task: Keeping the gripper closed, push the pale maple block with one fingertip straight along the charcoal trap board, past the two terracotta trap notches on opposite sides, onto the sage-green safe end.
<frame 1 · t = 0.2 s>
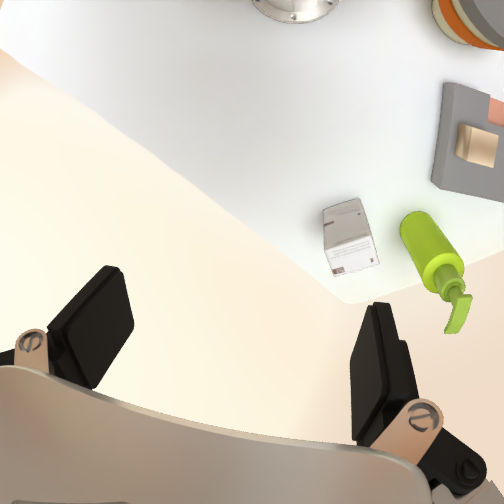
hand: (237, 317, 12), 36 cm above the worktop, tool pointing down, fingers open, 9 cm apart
soap dispenser: (416, 231, 45), on the worktop
trap board: (501, 149, 35), on the worktop
maple block: (470, 142, 33), point 4 cm above the worktop, touching trap board
reusable coffee cup: (458, 16, 28), on the worktop
skincare box: (344, 216, 47), on the worktop
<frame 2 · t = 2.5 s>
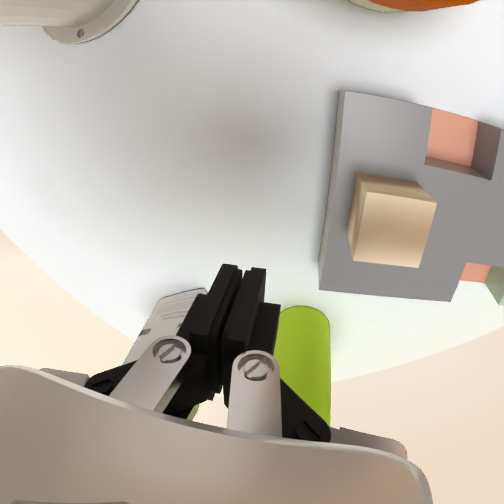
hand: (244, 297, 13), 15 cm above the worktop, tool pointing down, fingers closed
soap dispenser: (301, 329, 33), on the worktop
trap board: (460, 203, 23), on the worktop
maple block: (382, 206, 21), point 4 cm above the worktop, touching trap board
skincare box: (190, 307, 34), on the worktop
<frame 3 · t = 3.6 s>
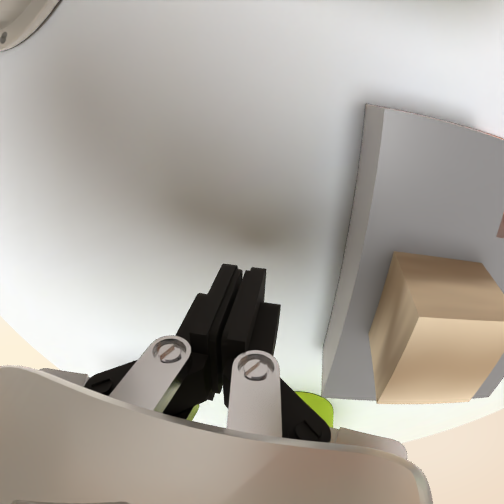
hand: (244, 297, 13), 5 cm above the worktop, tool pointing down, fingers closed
soap dispenser: (298, 412, 24), on the worktop
maple block: (425, 300, 12), point 4 cm above the worktop, touching trap board
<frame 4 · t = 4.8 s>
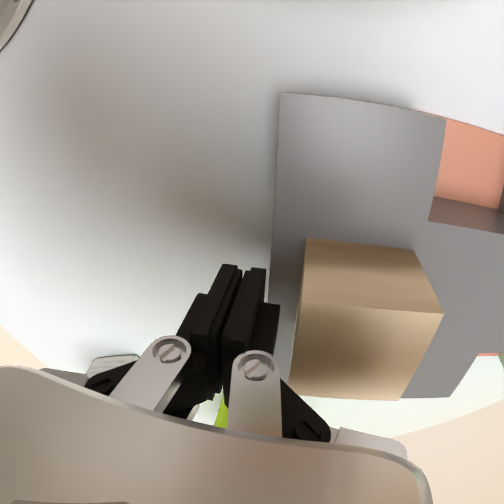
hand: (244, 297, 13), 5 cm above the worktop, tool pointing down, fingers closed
trap board: (477, 262, 15), on the worktop
maple block: (351, 290, 13), point 4 cm above the worktop, touching gripper
skincare box: (128, 371, 26), on the worktop
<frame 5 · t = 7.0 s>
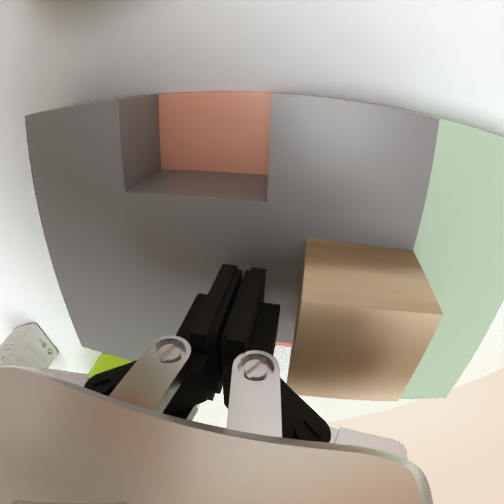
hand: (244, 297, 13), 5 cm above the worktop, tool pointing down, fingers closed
soap dispenser: (128, 377, 27), on the worktop
trap board: (273, 238, 17), on the worktop
maple block: (351, 290, 13), point 4 cm above the worktop, touching gripper, trap board
skincare box: (37, 339, 28), on the worktop
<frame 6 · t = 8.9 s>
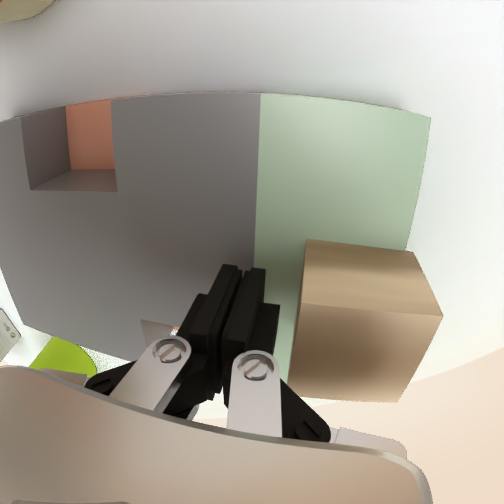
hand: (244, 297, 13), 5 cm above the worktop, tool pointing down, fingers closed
soap dispenser: (76, 360, 28), on the worktop
trap board: (161, 227, 18), on the worktop
maple block: (351, 291, 13), point 4 cm above the worktop, touching gripper, trap board
skincare box: (4, 324, 29), on the worktop
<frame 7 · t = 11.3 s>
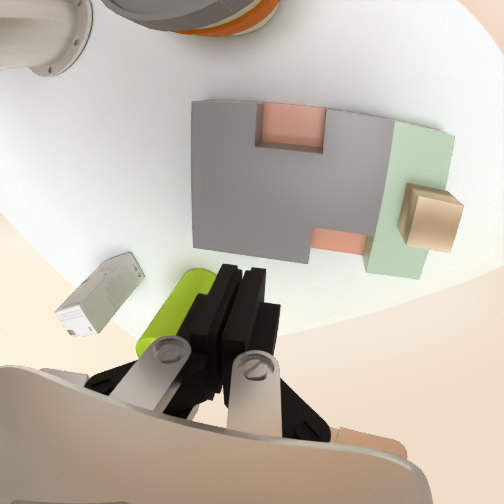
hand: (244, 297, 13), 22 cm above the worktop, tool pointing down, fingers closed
soap dispenser: (203, 290, 41), on the worktop
trap board: (318, 180, 32), on the worktop
maple block: (422, 209, 27), point 4 cm above the worktop, touching trap board
skincare box: (124, 269, 43), on the worktop
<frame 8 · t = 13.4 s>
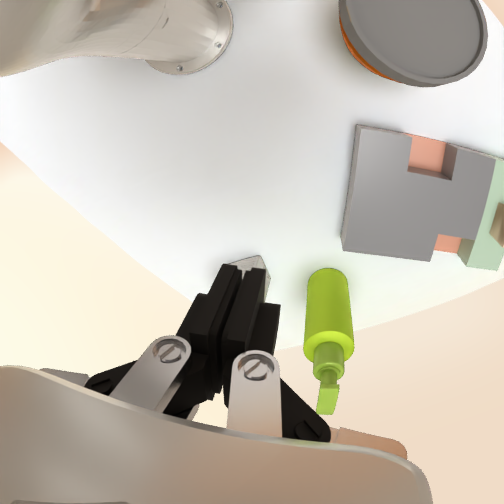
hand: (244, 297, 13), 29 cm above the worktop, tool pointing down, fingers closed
soap dispenser: (327, 287, 46), on the worktop
trap board: (434, 197, 36), on the worktop
reusable coffee cup: (382, 38, 29), on the worktop
skincare box: (247, 271, 47), on the worktop
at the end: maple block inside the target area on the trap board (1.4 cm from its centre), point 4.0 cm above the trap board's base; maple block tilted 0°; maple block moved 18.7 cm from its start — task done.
